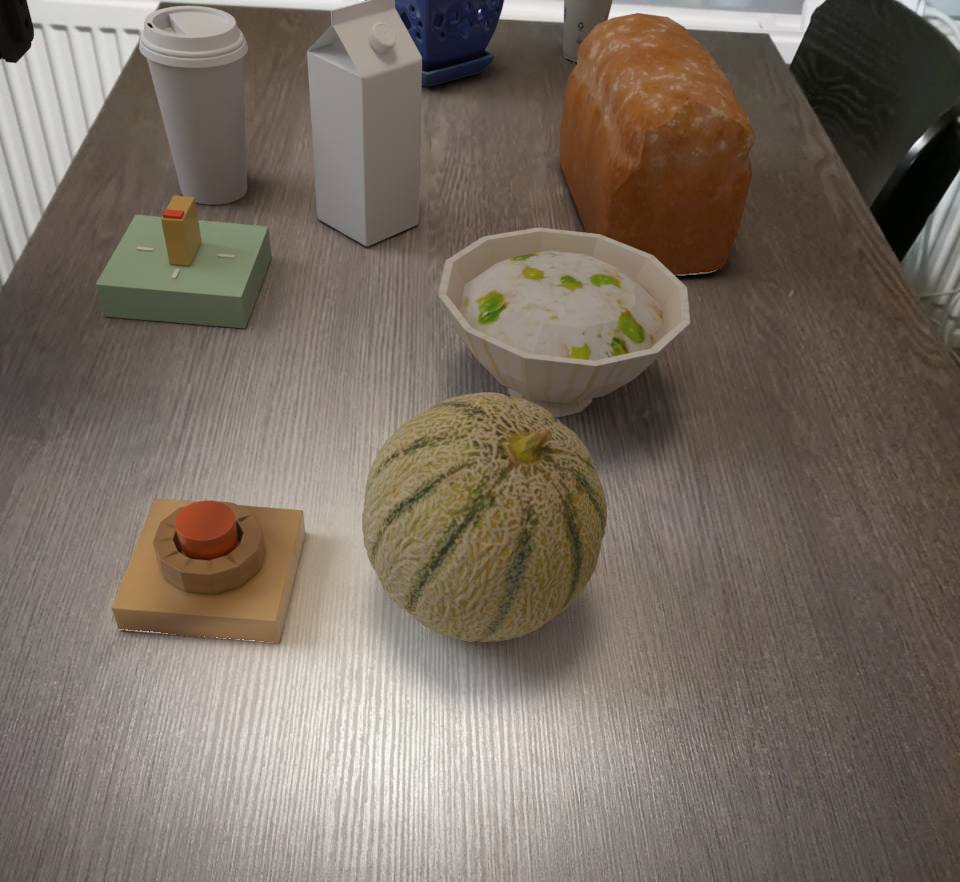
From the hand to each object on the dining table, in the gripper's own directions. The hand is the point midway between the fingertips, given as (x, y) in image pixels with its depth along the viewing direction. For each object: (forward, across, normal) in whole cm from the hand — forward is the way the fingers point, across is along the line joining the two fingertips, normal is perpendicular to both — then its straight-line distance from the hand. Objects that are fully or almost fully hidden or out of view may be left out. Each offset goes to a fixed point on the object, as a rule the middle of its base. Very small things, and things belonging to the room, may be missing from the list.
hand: (10, 53), depth 59 cm
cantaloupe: (+23, -31, +21) cm, 44 cm away
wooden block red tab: (+20, -4, -14) cm, 25 cm away
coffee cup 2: (+23, -40, -77) cm, 90 cm away
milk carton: (+23, -18, -28) cm, 41 cm away
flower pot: (+23, -21, -68) cm, 75 cm away
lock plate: (+23, -4, -14) cm, 27 cm away
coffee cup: (+23, -2, -32) cm, 40 cm away
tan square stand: (+23, -14, +21) cm, 34 cm away
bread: (+23, -45, -35) cm, 62 cm away
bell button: (+19, -14, +21) cm, 32 cm away
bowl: (+23, -36, -3) cm, 43 cm away
